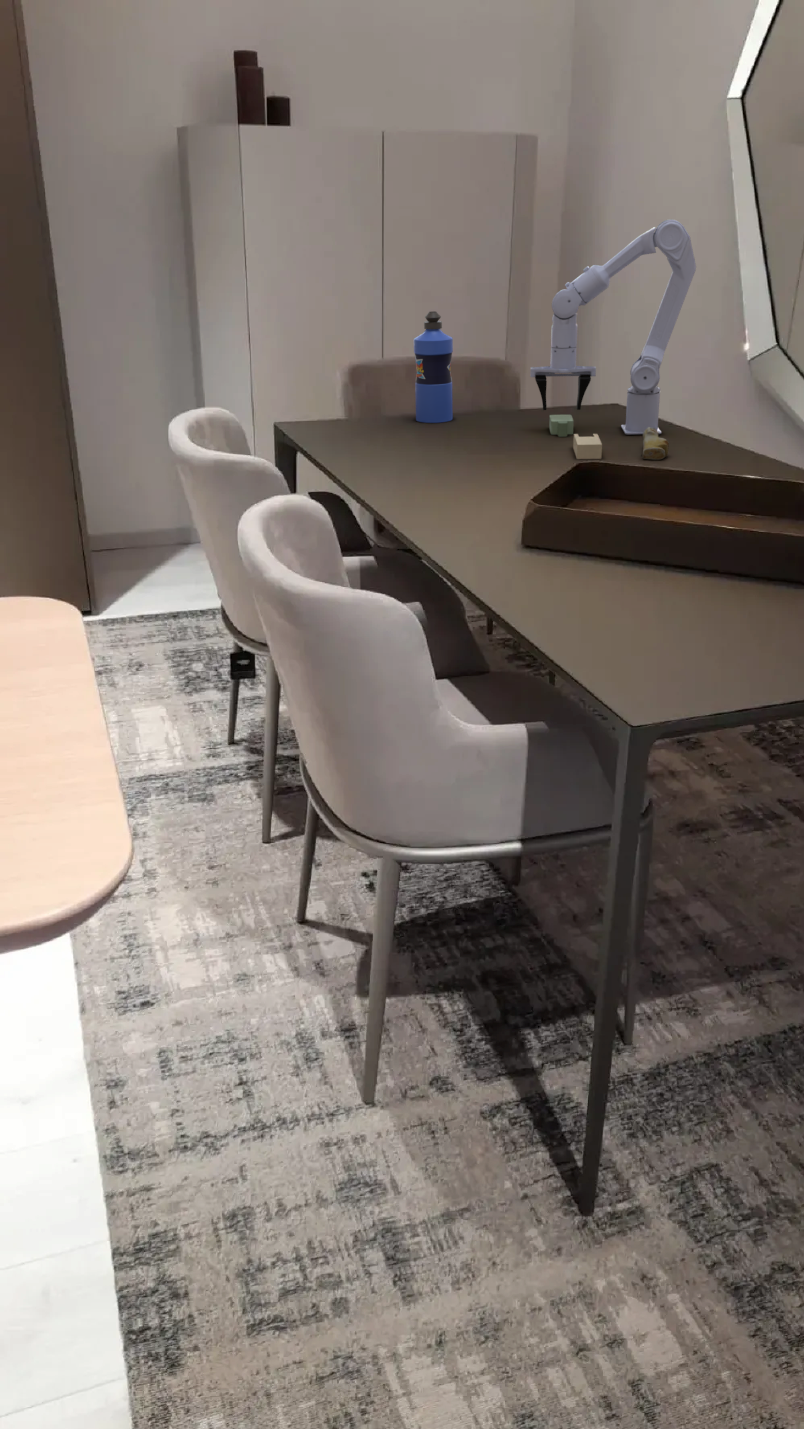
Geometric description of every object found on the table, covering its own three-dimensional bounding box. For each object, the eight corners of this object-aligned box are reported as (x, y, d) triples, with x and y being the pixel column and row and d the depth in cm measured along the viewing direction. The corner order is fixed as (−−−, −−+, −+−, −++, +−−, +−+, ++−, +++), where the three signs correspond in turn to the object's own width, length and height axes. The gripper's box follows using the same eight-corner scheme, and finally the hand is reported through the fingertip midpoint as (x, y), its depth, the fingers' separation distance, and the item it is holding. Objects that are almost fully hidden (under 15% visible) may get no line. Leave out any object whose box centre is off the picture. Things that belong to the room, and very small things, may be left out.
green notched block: (549, 428, 257) (549, 414, 256) (570, 427, 257) (571, 414, 256) (551, 436, 248) (551, 423, 247) (573, 436, 247) (574, 423, 246)
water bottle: (420, 424, 266) (418, 314, 255) (411, 417, 274) (409, 311, 264) (457, 421, 268) (457, 312, 257) (447, 414, 276) (446, 309, 266)
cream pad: (573, 448, 236) (573, 434, 235) (596, 447, 236) (597, 433, 235) (576, 459, 226) (577, 444, 225) (601, 459, 226) (602, 444, 225)
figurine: (675, 449, 222) (670, 424, 234) (651, 438, 221) (647, 413, 234) (662, 471, 225) (658, 445, 237) (638, 460, 224) (635, 435, 236)
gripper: (531, 349, 243) (530, 412, 248) (598, 348, 241) (595, 412, 247) (530, 345, 249) (529, 407, 255) (595, 344, 248) (592, 406, 254)
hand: (561, 409), depth 251 cm, fingers open, 7 cm apart
